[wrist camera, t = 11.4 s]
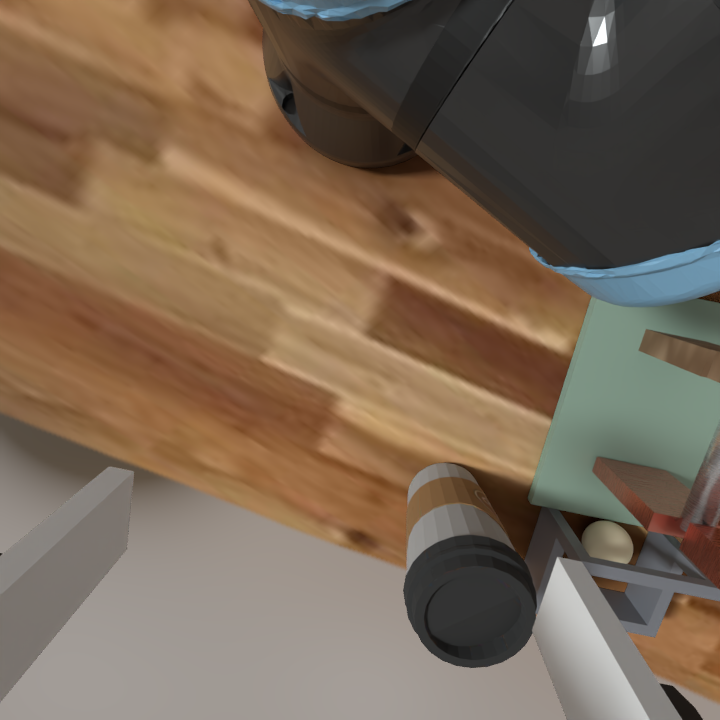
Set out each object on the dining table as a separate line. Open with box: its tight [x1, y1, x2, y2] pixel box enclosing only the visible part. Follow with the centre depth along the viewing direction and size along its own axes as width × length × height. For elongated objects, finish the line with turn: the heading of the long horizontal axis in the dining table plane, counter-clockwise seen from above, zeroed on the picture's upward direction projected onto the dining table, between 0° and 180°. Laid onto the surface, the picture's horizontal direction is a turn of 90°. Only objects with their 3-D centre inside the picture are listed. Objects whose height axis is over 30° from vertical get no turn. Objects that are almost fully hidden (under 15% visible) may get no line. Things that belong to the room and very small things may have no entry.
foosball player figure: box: [638, 329, 720, 383], centre depth 34 cm, size 2×5×11 cm, turn 79°
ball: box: [582, 521, 633, 564], centre depth 42 cm, size 4×4×4 cm
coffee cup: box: [403, 463, 537, 668], centre depth 36 cm, size 8×8×15 cm
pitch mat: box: [528, 296, 720, 527], centre depth 40 cm, size 20×14×1 cm
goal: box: [524, 506, 720, 637], centre depth 40 cm, size 8×11×8 cm
